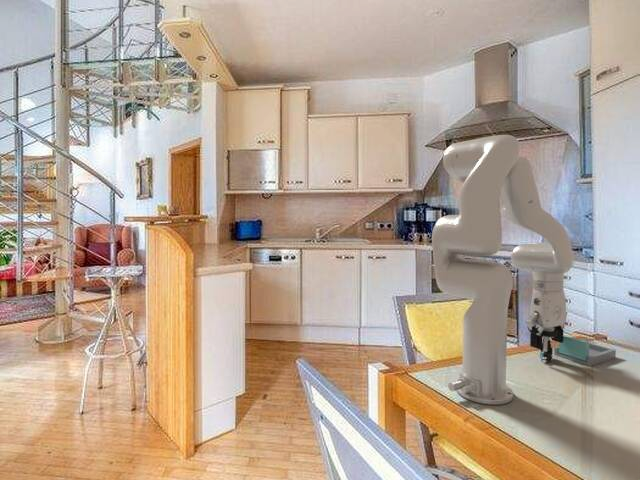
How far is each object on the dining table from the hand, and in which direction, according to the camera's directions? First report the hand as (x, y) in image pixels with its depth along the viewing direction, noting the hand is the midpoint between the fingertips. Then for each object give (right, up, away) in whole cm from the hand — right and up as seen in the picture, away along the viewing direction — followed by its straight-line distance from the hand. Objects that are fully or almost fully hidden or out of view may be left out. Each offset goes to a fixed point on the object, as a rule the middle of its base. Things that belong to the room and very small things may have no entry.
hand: (546, 344), depth 110 cm
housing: (+13, -4, +3) cm, 14 cm away
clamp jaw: (+8, -3, 0) cm, 8 cm away
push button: (0, -5, 0) cm, 5 cm away
